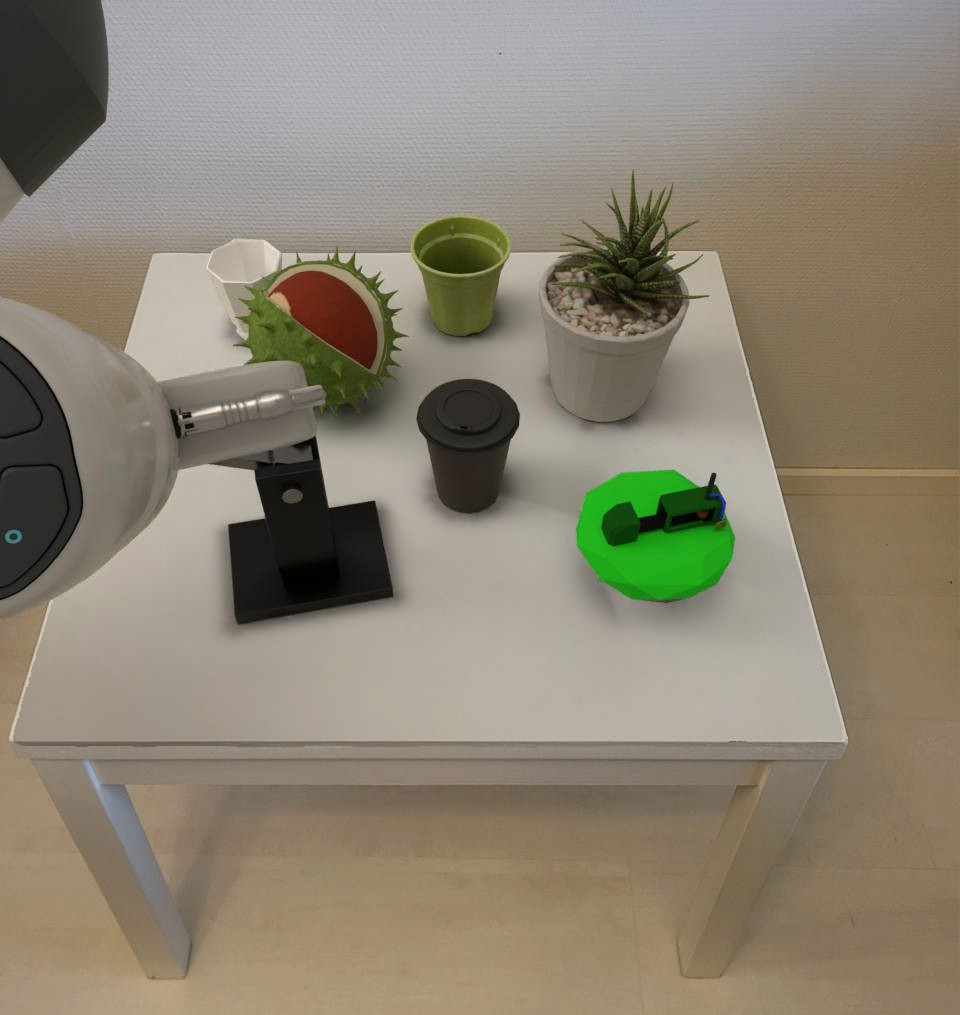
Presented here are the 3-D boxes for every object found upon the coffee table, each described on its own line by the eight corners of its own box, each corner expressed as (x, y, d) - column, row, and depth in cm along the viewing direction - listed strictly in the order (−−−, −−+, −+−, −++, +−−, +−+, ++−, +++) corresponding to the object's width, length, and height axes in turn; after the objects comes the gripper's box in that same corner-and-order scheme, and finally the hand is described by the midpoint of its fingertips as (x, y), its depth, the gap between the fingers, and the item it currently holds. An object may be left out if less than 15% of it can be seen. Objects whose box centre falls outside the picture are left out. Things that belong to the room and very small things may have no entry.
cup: (230, 359, 92) (212, 291, 85) (211, 295, 98) (193, 227, 91) (302, 342, 93) (290, 274, 87) (279, 281, 99) (266, 213, 93)
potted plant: (686, 443, 85) (735, 255, 70) (531, 437, 86) (546, 249, 70) (673, 347, 93) (715, 160, 78) (531, 343, 94) (544, 155, 78)
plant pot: (398, 334, 94) (393, 260, 87) (437, 278, 100) (435, 205, 93) (487, 359, 92) (488, 286, 85) (521, 301, 98) (525, 227, 91)
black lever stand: (237, 624, 73) (198, 511, 62) (230, 532, 79) (193, 414, 68) (393, 597, 75) (381, 482, 64) (376, 509, 80) (362, 389, 70)
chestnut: (461, 295, 84) (375, 370, 73) (399, 403, 94) (316, 483, 83) (323, 191, 84) (217, 251, 73) (276, 310, 94) (176, 378, 83)
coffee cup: (440, 538, 79) (436, 456, 71) (407, 468, 83) (401, 384, 75) (531, 510, 80) (537, 427, 73) (494, 443, 85) (497, 359, 77)
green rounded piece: (685, 499, 81) (711, 406, 73) (744, 612, 74) (780, 525, 66) (550, 526, 79) (560, 435, 71) (596, 646, 72) (614, 560, 64)
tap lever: (92, 472, 62) (101, 438, 60) (94, 436, 64) (102, 402, 62) (303, 499, 68) (317, 469, 66) (298, 465, 70) (312, 435, 68)
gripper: (311, 311, 37) (298, 341, 51) (-274, 420, 33) (-120, 421, 47) (347, 470, 38) (324, 458, 52) (-221, 595, 34) (-84, 547, 47)
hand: (110, 441), depth 49 cm, fingers closed
